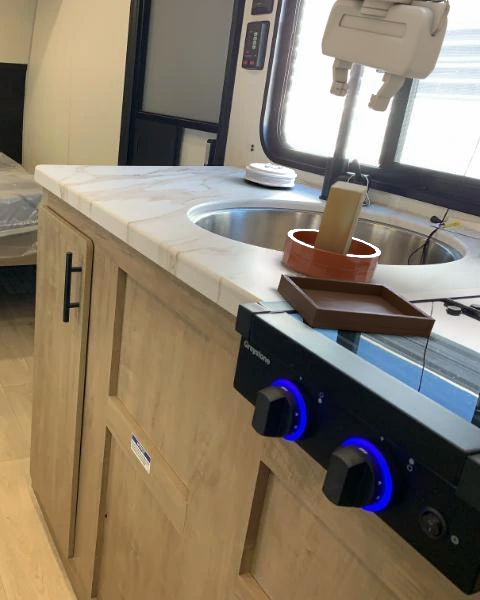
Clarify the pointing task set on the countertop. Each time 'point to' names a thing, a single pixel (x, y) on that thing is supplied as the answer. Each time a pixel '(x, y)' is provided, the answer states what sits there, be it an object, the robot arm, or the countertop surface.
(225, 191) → the countertop surface
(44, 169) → the countertop surface
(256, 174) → the lid
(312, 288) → the tray
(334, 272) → the bowl
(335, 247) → the cosmetic box
